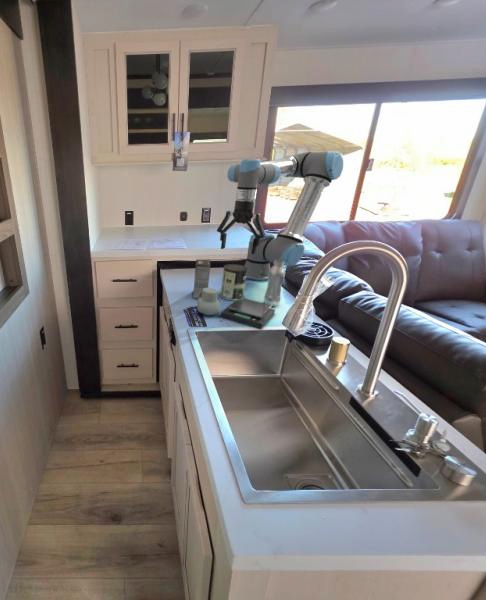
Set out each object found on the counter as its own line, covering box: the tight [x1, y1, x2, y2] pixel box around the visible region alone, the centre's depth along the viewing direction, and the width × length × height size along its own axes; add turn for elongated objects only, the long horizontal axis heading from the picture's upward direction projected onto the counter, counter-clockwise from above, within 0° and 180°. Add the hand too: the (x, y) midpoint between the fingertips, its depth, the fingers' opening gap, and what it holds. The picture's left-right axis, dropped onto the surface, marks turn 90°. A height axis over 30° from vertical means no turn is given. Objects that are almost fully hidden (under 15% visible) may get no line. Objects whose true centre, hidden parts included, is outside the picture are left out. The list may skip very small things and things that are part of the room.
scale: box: [220, 300, 276, 330], centre depth 127 cm, size 16×16×2 cm
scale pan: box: [227, 297, 273, 319], centre depth 127 cm, size 13×13×1 cm
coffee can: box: [219, 263, 248, 302], centre depth 143 cm, size 10×10×14 cm
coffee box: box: [192, 259, 211, 300], centre depth 144 cm, size 9×6×16 cm
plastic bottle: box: [263, 259, 286, 307], centre depth 133 cm, size 6×7×20 cm
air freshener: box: [196, 287, 221, 316], centre depth 128 cm, size 11×8×10 cm
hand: (237, 250), depth 137 cm, fingers open, 13 cm apart
